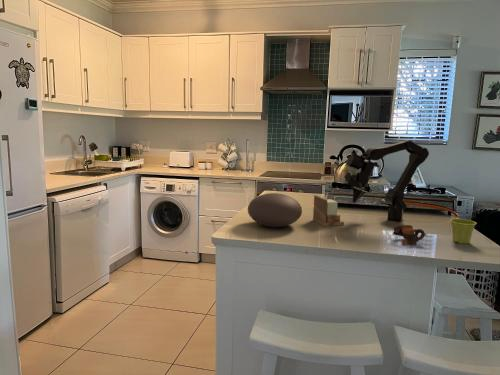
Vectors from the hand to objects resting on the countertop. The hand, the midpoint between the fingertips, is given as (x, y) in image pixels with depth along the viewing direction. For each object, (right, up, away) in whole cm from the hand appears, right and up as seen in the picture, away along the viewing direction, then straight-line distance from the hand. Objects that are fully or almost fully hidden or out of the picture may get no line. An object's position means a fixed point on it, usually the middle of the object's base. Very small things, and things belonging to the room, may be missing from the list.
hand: (353, 202), depth 185 cm
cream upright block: (-13, -8, -4) cm, 16 cm away
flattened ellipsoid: (-40, -10, -11) cm, 43 cm away
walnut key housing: (-13, -10, -3) cm, 17 cm away
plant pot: (+36, -15, -30) cm, 49 cm away
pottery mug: (+13, -15, -32) cm, 38 cm away
